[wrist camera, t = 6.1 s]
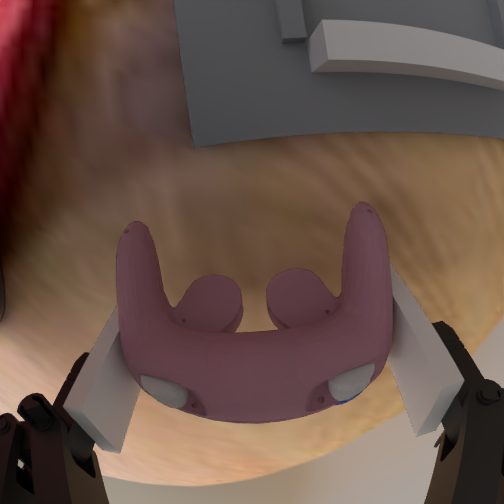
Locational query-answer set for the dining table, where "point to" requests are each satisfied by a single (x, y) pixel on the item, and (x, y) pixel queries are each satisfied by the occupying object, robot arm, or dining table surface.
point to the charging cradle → (341, 67)
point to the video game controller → (258, 343)
